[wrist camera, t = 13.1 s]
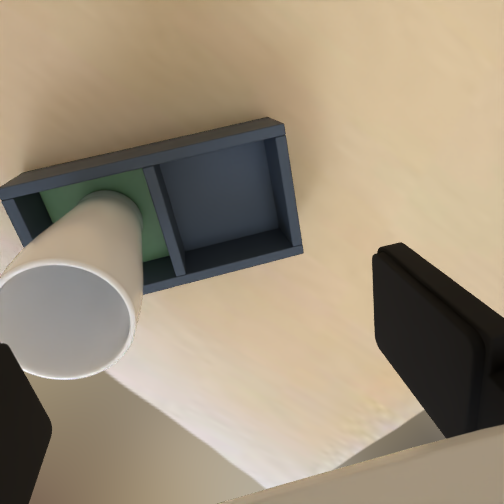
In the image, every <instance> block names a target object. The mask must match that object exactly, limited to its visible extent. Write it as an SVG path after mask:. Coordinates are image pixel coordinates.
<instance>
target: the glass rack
mask: <svg viewBox="0 0 504 504" xmlns="http://www.w3.org/2000/svg"><path fill="white" fill-rule="evenodd" d="M285 134H286V133H285V127H284V123H281V122H279V121H276V120H274V119H271V118H269V117H266V118H261V119H257V120H252V121H248V122H244V123H239V124H235V125H230V126H226V127H221V128H217V129H213V130H208V131H204V132H199V133H195V134H191V135H186V136H182V137H177V138H173V139H169V140H164V141H160V142H155V143H151V144H147V145H142V146H138V147H133V148H129V149H125V150H120V151H116V152H111V153H107V154H103V155H98V156H94V157H89V158H85V159H81V160H76V161H72V162H67V163H63V164H59V165H54V166H50V167H45V168H41V169H37V170H32V171H28V172H23V173H21V174H20V175H19V176H17V177H15V178H14V179H12V180H10V181H9V182H7V183H6V184H4V185H2V186H1V187H0V199H1V200H2V204H3V206H4V208H5V210H6V212H7V214H8V216H9V218H10V220H11V222H12V224H13V226H14V228H15V230H16V232H17V235H18V237H19V239H20V241H21V243H22V245H23V247H25V246H27V245H28V244H29V243H30V242H31V241H32V240H33V239H34V238H35V237H37V236H38V235H39V234H40V233H42V232H43V231H44V230H45V229H47V228H48V227H49V226H51V225H52V224H53V223H54V222H56V221H57V220H58V219H60V218H61V217H62V216H63V215H65V214H66V213H67V212H68V211H70V210H71V209H72V208H73V207H75V206H76V204H77V203H78V202H79V201H80V200H81V199H82V198H83V197H85V196H86V195H88V194H90V193H92V192H95V191H100V190H111V191H116V192H119V193H121V194H124V195H125V196H127V197H128V198H130V199H131V200H132V201H133V202H134V203H135V204H136V205H137V207H138V208H139V210H140V212H141V214H142V218H143V233H142V251H143V295H145V294H148V293H152V292H156V291H160V290H164V289H168V288H172V287H175V286H179V285H183V284H187V283H191V282H195V281H199V280H202V279H206V278H210V277H214V276H218V275H222V274H226V273H229V272H233V271H237V270H241V269H245V268H249V267H253V266H256V265H260V264H264V263H268V262H272V261H276V260H280V259H283V258H287V257H291V256H295V255H299V254H303V245H302V239H301V232H300V225H299V219H298V212H297V206H296V199H295V192H294V186H293V179H292V173H291V166H290V160H289V153H288V146H287V140H286V135H285Z"/></svg>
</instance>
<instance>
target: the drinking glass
mask: <svg viewBox="0 0 504 504" xmlns="http://www.w3.org/2000/svg"><path fill="white" fill-rule="evenodd" d="M142 233H143V218H142V214H141V212H140V210H139V208H138V207H137V205H136V204H135V203H134V202H133V201H132V200H131V199H130V198H128V197H127V196H125V195H124V194H121V193H119V192H116V191H111V190H100V191H95V192H92V193H90V194H88V195H86V196H85V197H83V198H82V199H81V200H80V201H79V202H78V203H77V204H76V206H75V207H73V208H72V209H71V210H70V211H68V212H67V213H66V214H65V215H63V216H62V217H61V218H60V219H58V220H57V221H56V222H54V223H53V224H52V225H51V226H49V227H48V228H47V229H45V230H44V231H43V232H42V233H40V234H39V235H38V236H37V237H35V238H34V239H33V240H32V241H31V242H30V243H29V244H28V245H27V246H25V247H24V248H23V250H22V251H21V252H20V253H19V254H18V255H17V256H16V257H15V258H14V259H13V261H12V262H11V263H10V264H9V265H8V267H7V268H6V269H5V271H4V272H3V273H2V275H1V276H0V343H1V344H2V343H5V344H7V345H8V346H9V347H10V348H11V350H12V352H13V354H14V356H15V357H16V359H17V361H18V363H19V365H20V366H21V368H22V370H23V371H25V372H28V373H30V374H33V375H36V376H39V377H43V378H48V379H57V380H71V379H80V378H85V377H89V376H92V375H95V374H97V373H100V372H102V371H104V370H106V369H108V368H109V367H111V366H112V365H114V364H115V363H116V362H117V361H118V360H120V359H121V358H122V357H123V355H124V354H125V353H126V352H127V350H128V349H129V347H130V345H131V343H132V341H133V339H134V336H135V332H136V327H137V323H138V319H139V315H140V310H141V304H142V296H143V251H142Z"/></svg>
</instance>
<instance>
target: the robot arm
mask: <svg viewBox="0 0 504 504" xmlns="http://www.w3.org/2000/svg"><path fill="white" fill-rule="evenodd" d="M372 270H373V298H374V326H375V339H376V342H377V345H378V347H379V349H380V350H381V352H382V353H383V354H384V356H385V357H386V358H387V360H388V361H389V362H390V364H391V365H392V366H393V368H394V369H395V370H396V372H397V373H398V374H399V376H400V377H401V378H402V380H403V381H404V382H405V384H406V385H407V386H408V388H409V389H410V390H411V392H412V393H413V395H414V396H415V397H416V399H417V400H418V401H419V403H420V404H421V405H422V407H423V408H424V409H425V411H426V412H427V413H428V415H429V416H430V417H431V419H432V420H433V421H434V423H435V424H436V425H437V427H438V428H439V429H440V431H441V432H442V433H443V435H444V436H445V437H446V439H444V440H440V441H436V442H432V443H429V444H425V445H421V446H417V447H413V448H410V449H406V450H403V451H399V452H396V453H392V454H388V455H385V456H381V457H378V458H374V459H371V460H367V461H364V462H360V463H357V464H353V465H350V466H346V467H343V468H339V469H336V470H332V471H329V472H325V473H322V474H318V475H315V476H311V477H308V478H304V479H301V480H297V481H293V482H290V483H286V484H283V485H279V486H276V487H273V488H269V489H266V490H262V491H259V492H255V493H252V494H248V495H245V496H241V497H238V498H235V499H231V500H228V501H224V502H221V503H218V504H504V318H503V317H502V316H500V315H499V314H498V313H496V312H495V311H494V310H492V309H491V308H490V307H488V306H487V305H486V304H484V303H483V302H482V301H480V300H479V299H478V298H476V297H475V296H474V295H472V294H471V293H469V292H468V291H467V290H465V289H464V288H463V287H461V286H460V285H459V284H457V283H456V282H455V281H453V280H452V279H451V278H449V277H448V276H447V275H445V274H444V273H443V272H441V271H440V270H439V269H437V268H436V267H435V266H433V265H432V264H431V263H429V262H428V261H426V260H425V259H424V258H422V257H421V256H420V255H418V254H417V253H416V252H414V251H413V250H412V249H410V248H409V247H408V246H406V245H405V244H403V243H396V244H392V245H387V246H383V247H380V248H379V249H378V252H377V254H374V255H373V257H372ZM51 434H52V425H51V421H50V419H49V417H48V415H47V414H46V412H45V410H44V408H43V406H42V404H41V403H40V401H39V399H38V397H37V395H36V394H35V392H34V390H33V388H32V387H31V385H30V383H29V381H28V379H27V377H26V376H25V374H24V372H23V370H22V368H21V366H20V365H19V363H18V361H17V359H16V357H15V356H14V354H13V352H12V350H11V348H10V347H9V346H8V345H7V344H5V343H2V344H1V343H0V504H29V501H30V498H31V495H32V492H33V489H34V486H35V483H36V480H37V477H38V474H39V471H40V468H41V465H42V462H43V459H44V456H45V453H46V450H47V447H48V444H49V441H50V438H51Z"/></svg>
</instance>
